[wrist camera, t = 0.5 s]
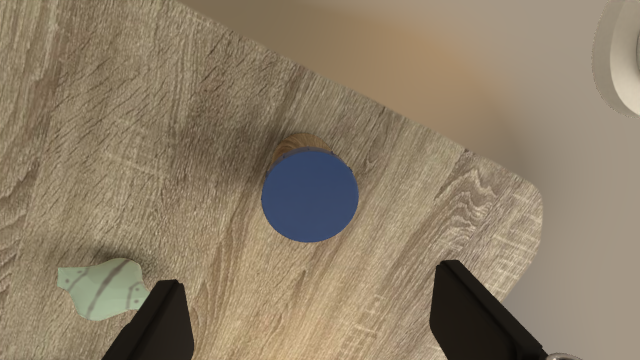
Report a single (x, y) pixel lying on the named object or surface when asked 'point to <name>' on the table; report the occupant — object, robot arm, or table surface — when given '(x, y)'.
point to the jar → (298, 144)
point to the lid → (309, 194)
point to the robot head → (104, 288)
